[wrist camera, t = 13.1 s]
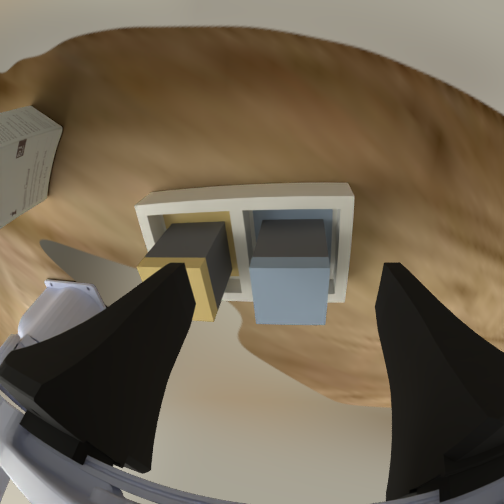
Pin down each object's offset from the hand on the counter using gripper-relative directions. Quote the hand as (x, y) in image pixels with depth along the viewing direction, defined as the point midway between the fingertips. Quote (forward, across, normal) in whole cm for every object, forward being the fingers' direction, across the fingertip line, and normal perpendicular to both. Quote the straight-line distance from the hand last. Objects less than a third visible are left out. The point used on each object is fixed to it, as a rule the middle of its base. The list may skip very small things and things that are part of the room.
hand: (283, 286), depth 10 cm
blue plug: (+9, 0, +4) cm, 10 cm away
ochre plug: (+9, +7, +4) cm, 12 cm away
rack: (+10, +3, +4) cm, 11 cm away
